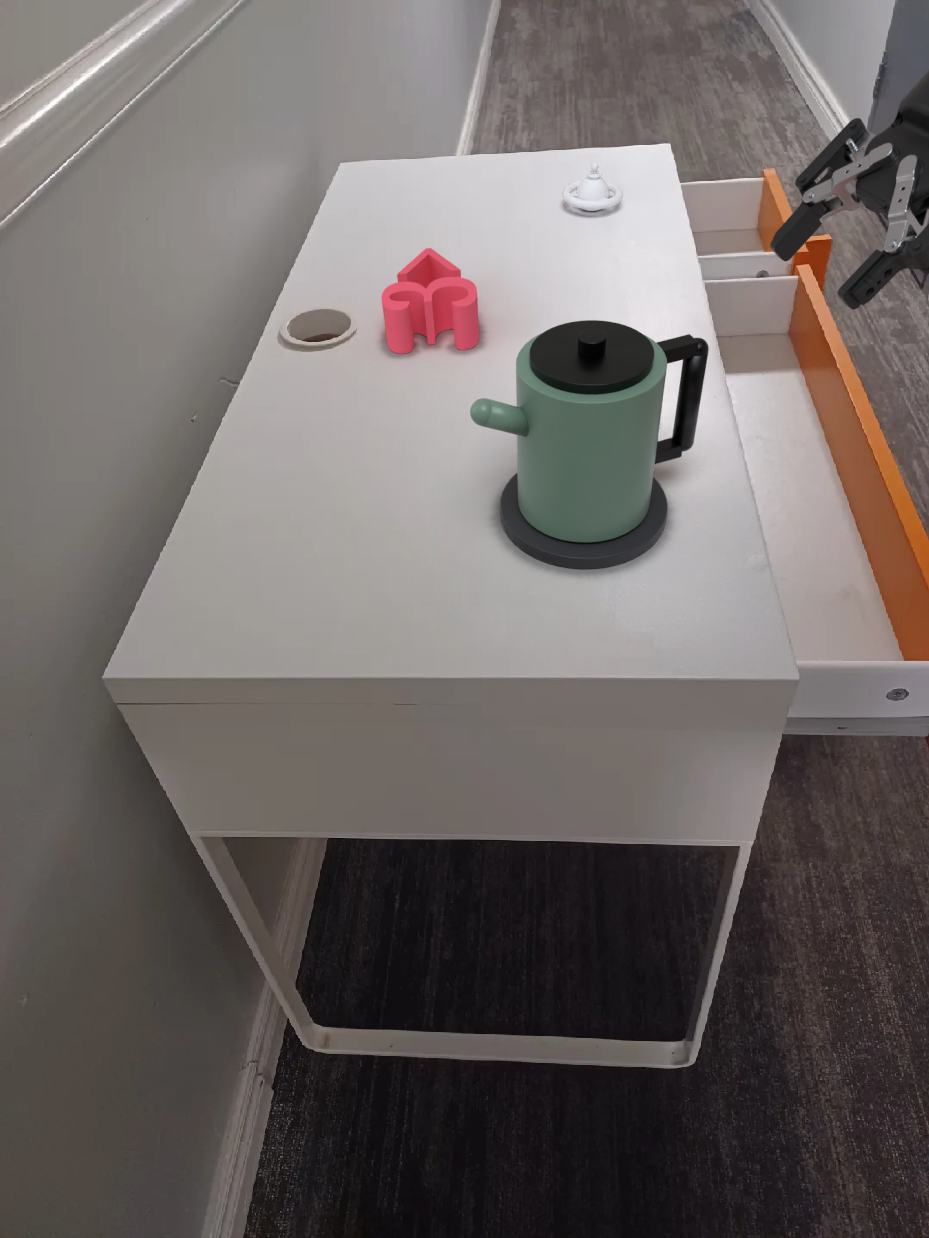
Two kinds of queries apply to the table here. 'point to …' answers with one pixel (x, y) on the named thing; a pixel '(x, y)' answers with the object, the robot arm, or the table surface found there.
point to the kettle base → (582, 552)
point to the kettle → (594, 424)
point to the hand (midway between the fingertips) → (809, 277)
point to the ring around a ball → (592, 192)
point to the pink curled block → (430, 304)
